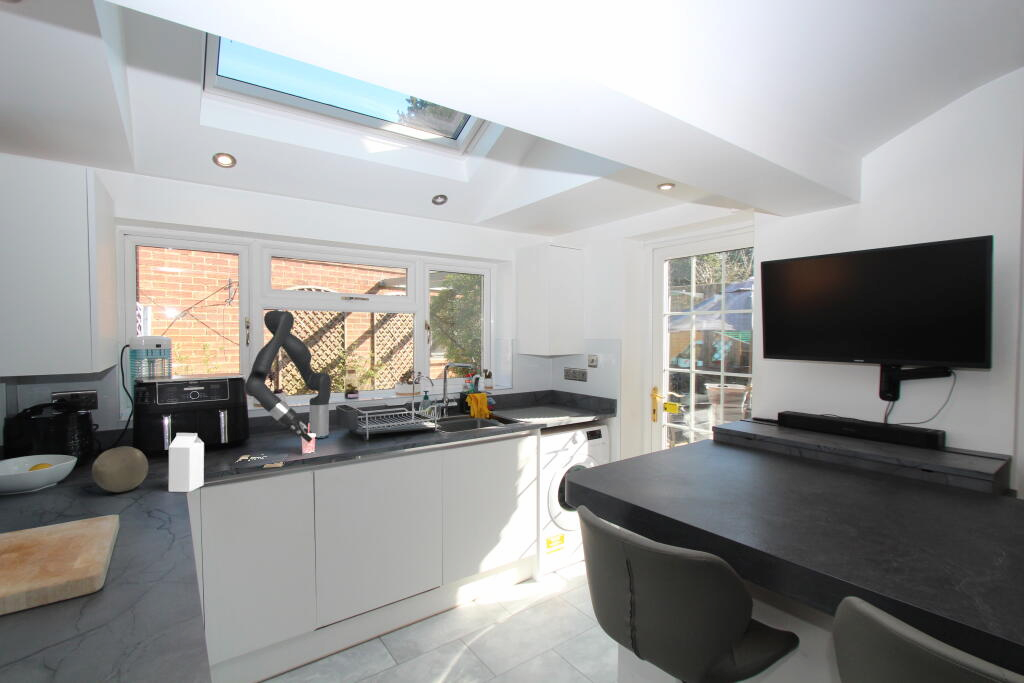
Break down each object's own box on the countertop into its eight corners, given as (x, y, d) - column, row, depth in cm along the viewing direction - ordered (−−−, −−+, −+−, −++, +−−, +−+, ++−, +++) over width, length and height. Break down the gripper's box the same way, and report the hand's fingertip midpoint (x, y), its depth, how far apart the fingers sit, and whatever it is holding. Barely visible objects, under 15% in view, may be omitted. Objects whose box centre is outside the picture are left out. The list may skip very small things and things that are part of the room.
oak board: (242, 457, 202) (242, 455, 202) (288, 455, 207) (288, 452, 207) (230, 469, 184) (230, 466, 184) (281, 466, 190) (281, 463, 190)
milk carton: (189, 492, 157) (189, 435, 157) (168, 492, 158) (168, 435, 157) (203, 485, 164) (204, 431, 164) (183, 485, 165) (183, 430, 164)
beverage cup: (311, 452, 213) (311, 421, 212) (318, 454, 209) (318, 423, 208) (298, 455, 208) (298, 423, 208) (305, 457, 204) (305, 425, 204)
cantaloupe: (104, 488, 161) (104, 443, 160) (154, 484, 166) (154, 441, 165) (83, 502, 147) (83, 453, 147) (138, 497, 152) (139, 450, 152)
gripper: (287, 409, 199) (316, 435, 202) (292, 404, 213) (320, 429, 216) (273, 422, 197) (303, 448, 201) (279, 417, 211) (307, 441, 215)
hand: (311, 438), depth 209 cm, fingers open, 8 cm apart
